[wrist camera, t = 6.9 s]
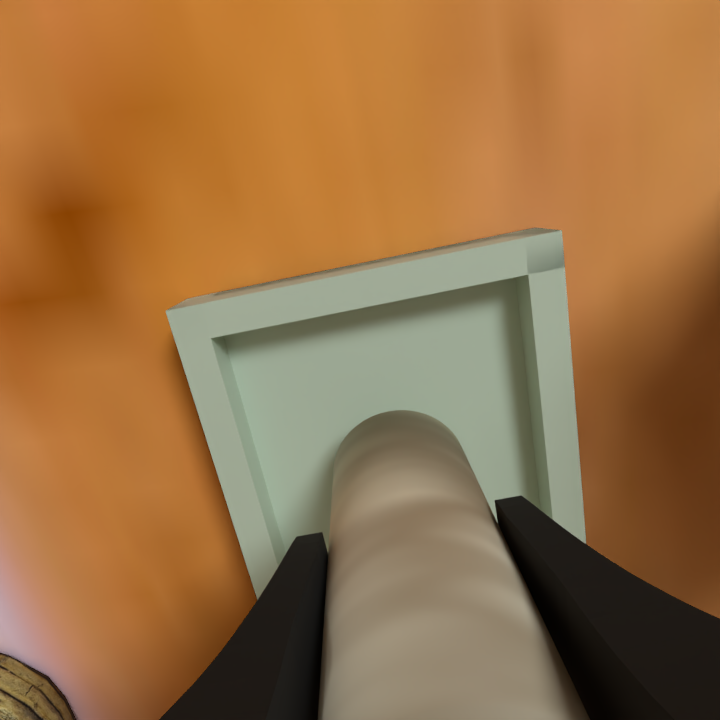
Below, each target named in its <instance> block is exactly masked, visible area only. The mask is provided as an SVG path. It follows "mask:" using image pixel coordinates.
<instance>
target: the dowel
mask: <svg viewBox="0 0 720 720" xmlns="http://www.w3.org/2000/svg"><path fill="white" fill-rule="evenodd" d="M318 720H590V718H589V716H588V714H587V712H586V710H585V708H584V706H583V703H582V701H581V699H580V697H579V695H578V693H577V691H576V689H575V686H574V684H573V682H572V680H571V678H570V676H569V674H568V672H567V669H566V667H565V665H564V663H563V661H562V659H561V657H560V655H559V652H558V650H557V648H556V646H555V644H554V642H553V640H552V638H551V635H550V633H549V631H548V629H547V627H546V625H545V623H544V621H543V618H542V616H541V614H540V612H539V610H538V608H537V606H536V604H535V601H534V599H533V597H532V595H531V593H530V591H529V589H528V587H527V584H526V582H525V580H524V578H523V576H522V574H521V572H520V570H519V567H518V565H517V563H516V561H515V559H514V557H513V555H512V553H511V550H510V548H509V546H508V544H507V542H506V540H505V538H504V536H503V533H502V531H501V529H500V527H499V525H498V523H497V521H496V519H495V516H494V514H493V512H492V510H491V508H490V506H489V504H488V502H487V500H486V497H485V495H484V493H483V491H482V489H481V487H480V485H479V483H478V480H477V478H476V476H475V474H474V472H473V470H472V468H471V466H470V463H469V461H468V459H467V457H466V455H465V453H464V451H463V449H462V446H461V444H460V443H459V441H458V439H457V437H456V436H455V435H454V433H453V432H452V431H451V430H450V429H449V428H448V427H447V426H446V425H444V424H443V423H442V422H440V421H439V420H437V419H435V418H433V417H431V416H429V415H426V414H424V413H420V412H416V411H409V410H395V411H388V412H384V413H380V414H377V415H374V416H372V417H370V418H368V419H366V420H364V421H362V422H361V423H360V424H358V425H357V426H356V427H355V428H353V429H352V430H351V431H350V432H349V433H348V435H347V436H346V437H345V438H344V440H343V441H342V443H341V444H340V447H339V449H338V451H337V454H336V457H335V461H334V468H333V484H332V500H331V516H330V532H329V548H328V564H327V580H326V596H325V612H324V628H323V643H322V659H321V675H320V691H319V707H318Z"/></svg>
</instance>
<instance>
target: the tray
mask: <svg viewBox="0 0 720 720" xmlns="http://www.w3.org/2000/svg"><path fill="white" fill-rule="evenodd" d="M166 314H167V317H168V320H169V324H170V327H171V330H172V333H173V336H174V339H175V342H176V346H177V349H178V352H179V355H180V358H181V361H182V364H183V368H184V371H185V374H186V377H187V380H188V383H189V386H190V390H191V393H192V396H193V399H194V402H195V405H196V408H197V412H198V415H199V418H200V421H201V424H202V427H203V430H204V434H205V437H206V440H207V443H208V446H209V449H210V452H211V456H212V459H213V462H214V465H215V468H216V471H217V474H218V478H219V481H220V484H221V487H222V490H223V493H224V496H225V500H226V503H227V506H228V509H229V512H230V515H231V518H232V522H233V525H234V528H235V531H236V534H237V537H238V540H239V544H240V547H241V550H242V553H243V556H244V559H245V562H246V566H247V569H248V572H249V575H250V578H251V581H252V584H253V588H254V591H255V594H256V597H257V600H258V598H259V597H260V595H261V594H262V592H263V591H264V589H265V587H266V586H267V584H268V583H269V581H270V580H271V578H272V576H273V575H274V573H275V571H276V570H277V568H278V566H279V565H280V563H281V561H282V559H283V558H284V556H285V554H286V553H287V551H288V549H289V547H290V546H291V544H292V542H293V541H294V540H295V538H296V537H297V536H303V535H308V534H313V533H319V532H322V533H323V536H324V540H325V544H326V548H327V552H328V548H329V532H330V516H331V500H332V484H333V468H334V461H335V457H336V454H337V451H338V449H339V447H340V444H341V443H342V441H343V440H344V438H345V437H346V436H347V435H348V433H349V432H350V431H351V430H352V429H353V428H355V427H356V426H357V425H358V424H360V423H361V422H362V421H364V420H366V419H368V418H370V417H372V416H374V415H377V414H380V413H384V412H388V411H395V410H409V411H416V412H420V413H424V414H426V415H429V416H431V417H433V418H435V419H437V420H439V421H440V422H442V423H443V424H444V425H446V426H447V427H448V428H449V429H450V430H451V431H452V432H453V433H454V435H455V436H456V437H457V439H458V441H459V443H460V444H461V446H462V449H463V451H464V453H465V455H466V457H467V459H468V461H469V463H470V466H471V468H472V470H473V472H474V474H475V476H476V478H477V480H478V483H479V485H480V487H481V489H482V491H483V493H484V495H485V497H486V500H487V502H488V504H489V506H490V508H491V510H492V512H493V514H494V516H495V519H496V521H497V514H496V507H495V500H499V499H504V498H509V497H515V496H520V495H522V496H523V497H524V498H526V499H527V500H528V501H530V502H531V503H532V504H534V505H535V506H536V507H537V508H539V509H540V510H541V511H542V512H544V513H545V514H546V515H547V516H549V517H550V518H551V519H553V520H554V521H555V522H557V523H558V524H559V525H560V526H562V527H563V528H564V529H566V530H567V531H568V532H570V533H571V534H572V535H574V536H575V537H577V538H578V539H580V540H581V541H582V542H584V543H585V544H586V534H585V521H584V508H583V495H582V483H581V470H580V457H579V444H578V431H577V419H576V406H575V393H574V380H573V368H572V355H571V342H570V329H569V316H568V304H567V291H566V278H565V265H564V252H563V240H562V230H553V229H543V228H531V229H526V230H521V231H516V232H512V233H507V234H502V235H497V236H492V237H487V238H482V239H477V240H472V241H467V242H463V243H458V244H453V245H448V246H443V247H438V248H433V249H428V250H423V251H418V252H413V253H409V254H404V255H399V256H394V257H389V258H384V259H379V260H374V261H369V262H364V263H360V264H355V265H350V266H345V267H340V268H335V269H330V270H325V271H320V272H315V273H311V274H306V275H301V276H296V277H291V278H286V279H281V280H276V281H271V282H266V283H262V284H257V285H252V286H247V287H242V288H237V289H232V290H227V291H222V292H217V293H212V294H208V295H203V296H198V297H193V298H188V299H186V300H184V301H183V302H181V303H179V304H177V305H175V306H173V307H172V308H170V309H168V310H166ZM497 523H498V522H497Z"/></svg>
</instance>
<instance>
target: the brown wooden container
mask: <svg viewBox="0 0 720 720" xmlns="http://www.w3.org/2000/svg"><path fill="white" fill-rule="evenodd" d="M0 720H75V717H74V715H73V713H72V711H71V709H70V707H69V705H68V703H67V700H66V698H65V697H64V695H63V694H62V693H61V692H60V691H59V690H58V688H57V687H56V686H55V685H54V684H53V683H52V681H51V680H50V679H49V678H48V677H47V676H45V675H43V674H42V673H40V672H38V671H36V670H34V669H32V668H30V667H28V666H27V665H25V664H23V663H21V662H19V661H17V660H15V659H14V658H12V657H10V656H7V655H4V654H1V653H0Z"/></svg>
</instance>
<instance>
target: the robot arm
mask: <svg viewBox="0 0 720 720" xmlns="http://www.w3.org/2000/svg"><path fill="white" fill-rule="evenodd" d="M495 507H496V514H497V522H498V525H499V527H500V529H501V531H502V533H503V536H504V538H505V540H506V542H507V544H508V546H509V548H510V550H511V553H512V555H513V557H514V559H515V561H516V563H517V565H518V567H519V570H520V572H521V574H522V576H523V578H524V580H525V582H526V584H527V587H528V589H529V591H530V593H531V595H532V597H533V599H534V601H535V604H536V606H537V608H538V610H539V612H540V614H541V616H542V618H543V621H544V623H545V625H546V627H547V629H548V631H549V633H550V635H551V638H552V640H553V642H554V644H555V646H556V648H557V650H558V652H559V655H560V657H561V659H562V661H563V663H564V665H565V667H566V669H567V672H568V674H569V676H570V678H571V680H572V682H573V684H574V686H575V689H576V691H577V693H578V695H579V697H580V699H581V701H582V703H583V706H584V708H585V710H586V712H587V714H588V716H589V718H590V720H720V619H719V618H717V617H714V616H712V615H710V614H708V613H706V612H703V611H701V610H699V609H697V608H695V607H693V606H691V605H689V604H687V603H685V602H683V601H681V600H679V599H677V598H675V597H673V596H671V595H669V594H667V593H665V592H664V591H662V590H660V589H658V588H656V587H654V586H652V585H650V584H649V583H647V582H645V581H643V580H641V579H640V578H638V577H636V576H634V575H633V574H631V573H629V572H628V571H626V570H625V569H623V568H621V567H620V566H618V565H617V564H615V563H613V562H612V561H610V560H609V559H607V558H606V557H604V556H603V555H601V554H600V553H598V552H597V551H595V550H594V549H592V548H591V547H589V546H588V545H587V544H585V543H584V542H582V541H581V540H580V539H578V538H577V537H575V536H574V535H572V534H571V533H570V532H568V531H567V530H566V529H564V528H563V527H562V526H560V525H559V524H558V523H557V522H555V521H554V520H553V519H551V518H550V517H549V516H547V515H546V514H545V513H544V512H542V511H541V510H540V509H539V508H537V507H536V506H535V505H534V504H532V503H531V502H530V501H528V500H527V499H526V498H524V497H523V496H522V495H520V496H515V497H509V498H504V499H499V500H495ZM327 564H328V552H327V548H326V544H325V540H324V536H323V533H322V532H319V533H313V534H308V535H303V536H297V537H296V538H295V540H294V541H293V542H292V544H291V546H290V547H289V549H288V551H287V553H286V554H285V556H284V558H283V559H282V561H281V563H280V565H279V566H278V568H277V570H276V571H275V573H274V575H273V576H272V578H271V580H270V581H269V583H268V584H267V586H266V587H265V589H264V591H263V592H262V594H261V595H260V597H259V598H258V600H257V602H256V603H255V605H254V606H253V608H252V609H251V611H250V612H249V614H248V615H247V616H246V618H245V619H244V621H243V622H242V623H241V625H240V626H239V628H238V629H237V630H236V632H235V633H234V635H233V636H232V637H231V639H230V640H229V641H228V643H227V644H226V645H225V647H224V648H223V649H222V651H221V652H220V653H219V654H218V656H217V657H216V658H215V659H214V661H213V662H212V663H211V664H210V665H209V667H208V668H207V669H206V670H205V671H204V672H203V674H202V675H201V676H200V677H199V678H198V679H197V681H196V682H195V683H194V684H193V685H192V686H191V687H190V688H189V689H188V690H187V691H186V692H185V693H184V694H183V695H182V697H181V698H180V699H179V700H178V701H177V702H176V703H175V704H174V705H173V706H172V707H171V708H170V709H169V710H168V711H167V712H166V713H165V714H164V715H163V716H162V717H161V718H160V719H159V720H318V707H319V691H320V675H321V659H322V643H323V628H324V612H325V596H326V580H327Z"/></svg>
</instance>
